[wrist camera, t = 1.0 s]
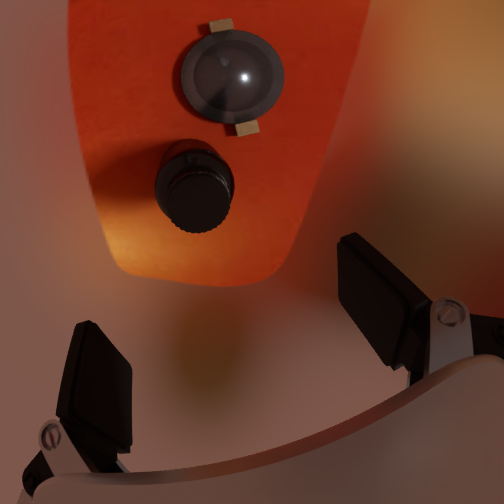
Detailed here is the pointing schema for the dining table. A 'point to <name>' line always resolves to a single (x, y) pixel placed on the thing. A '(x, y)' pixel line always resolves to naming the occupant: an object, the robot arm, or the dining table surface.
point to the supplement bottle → (194, 186)
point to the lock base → (232, 77)
